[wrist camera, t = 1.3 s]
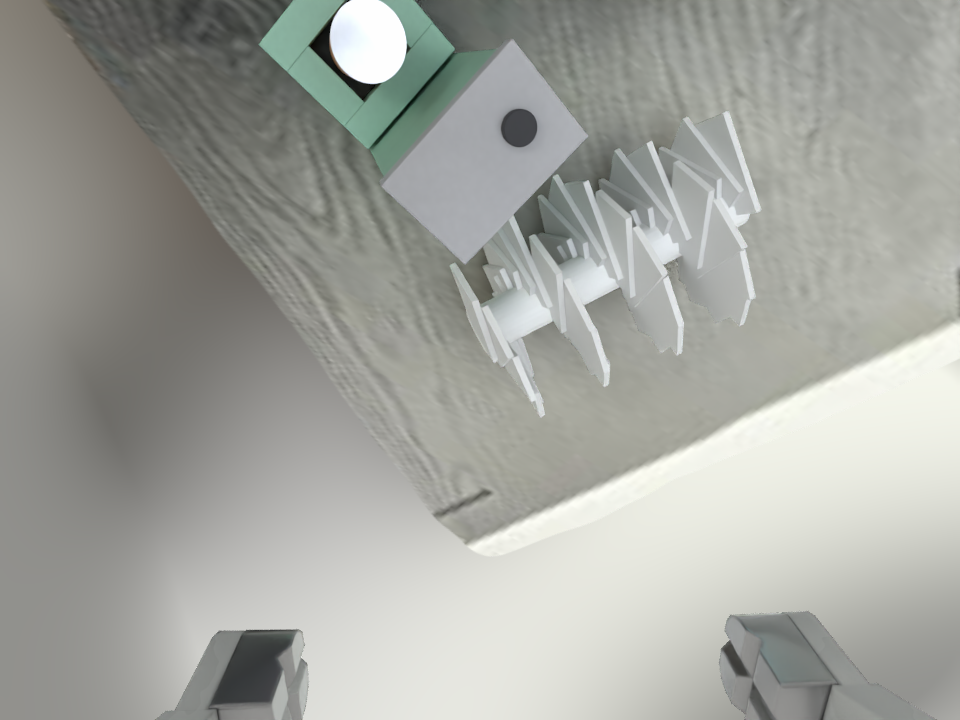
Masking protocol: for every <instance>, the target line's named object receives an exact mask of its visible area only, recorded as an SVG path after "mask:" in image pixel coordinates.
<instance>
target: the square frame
mask: <svg viewBox="0 0 960 720" xmlns="http://www.w3.org/2000/svg"><path fill="white" fill-rule="evenodd" d="M346 1H347V0H293V1H292V3H291V4H290V5H289V6H288V8H287V9H286V10H285V11H284V13H283V14H282V15H281V16H280V18H279V19H278V20H277V21H276V23H275V24H274V25H273V26H272V28H271V29H270V30H269V32H268V33H267V34H266V35H265V37H264V38H263V39H262V40H261V42H260V43H259V46H260V47H262V48H263V49H264V50H265V51H266V52H267V53H268V54H269V55H270V56H271V57H272V58H273V59H274V60H275V61H276V62H277V63H278V64H279V65H280V66H281V67H282V68H283V69H284V70H286V71H287V72H288V73H289V74H290V75H291V76H292V77H293V78H294V79H295V80H296V81H297V82H298V83H299V84H300V85H301V86H302V87H303V88H304V89H305V90H306V91H307V92H308V93H310V94H311V95H312V96H313V97H314V98H315V99H316V100H317V101H318V102H319V103H320V104H321V105H322V106H323V107H324V108H325V109H326V110H327V111H328V112H329V113H330V114H331V115H332V116H334V117H335V118H336V119H337V120H338V121H339V122H340V123H341V124H342V125H343V126H344V127H345V128H346V129H347V130H348V131H349V132H350V133H351V134H352V135H353V136H354V137H355V138H357V139H358V140H359V141H360V142H361V143H362V144H363V145H364V146H365V147H366V148H367V149H369V148H370V147H371V146H372V145H373V143H374V142H375V141H376V140H377V139H378V138H379V136H380V135H381V134H382V133H383V132H384V131H385V130H386V128H387V127H388V126H389V125H390V124H391V123H392V122H393V120H394V119H395V118H396V117H397V116H398V115H399V114H400V112H401V111H402V110H403V109H404V108H405V107H406V106H407V104H408V103H409V102H410V101H411V100H412V99H413V97H414V96H415V95H416V94H417V93H418V92H419V91H420V89H421V88H422V87H423V86H424V85H425V84H426V83H427V81H428V80H429V79H430V78H431V77H432V76H433V75H434V73H435V72H436V71H437V70H438V69H439V68H440V67H441V65H442V64H443V63H444V62H445V61H446V60H447V58H448V57H449V56H450V55H451V54H452V53H453V52H454V50H455V48H454V47H453V46H452V45H451V43H450V42H449V41H448V40H447V39H446V37H445V36H444V35H443V34H442V33H441V32H440V30H439V29H438V28H437V27H436V26H435V24H434V23H432V21H431V20H430V18H429V17H428V16H427V15H426V14H425V12H424V11H423V10H422V9H421V8H420V7H419V5H418V4H417V3H416V2H415V1H414V0H379V1H381V2H383V3H385V4H386V5H387V6H389V7H390V8H391V9H392V10H393V11H394V12H395V13H396V15H397V16H398V18H399V19H400V21H401V23H402V25H403V28H404V31H405V35H406V42H407V49H406V55H405V59H404V62H403V64H402V66H401V68H400V69H399V71H398V72H397V73H396V74H395V75H394V76H393V77H392V78H390V79H389V80H387V81H385V82H382V83H378V84H376V85H375V86H374V88H373V89H372V90H371V91H370V92H369V93H368V95H367V96H366V97H365V98H364V99H363V100H362V99H361V98H360V97H359V96H358V95H357V94H356V93H355V92H354V91H353V90H352V89H351V88H350V87H349V86H348V85H347V84H346V83H345V82H344V81H343V80H342V79H341V78H340V77H339V76H338V75H337V74H336V73H335V72H334V71H333V70H332V69H331V68H330V67H329V66H328V65H327V64H326V63H325V62H324V61H323V60H322V59H321V58H320V57H319V56H318V55H317V54H316V53H315V52H314V51H313V50H312V49H311V48H310V46H311V44H312V43H313V42H314V41H315V39H316V38H317V37H318V36H319V35H320V33H321V32H322V31H323V30H324V28H325V27H326V26H327V25H328V23H329V22H330V21H331V20H332V19H333V17H334V16H335V15H336V13H337V12H338V10H339V9H340V8H341V7H342V6H343V5H344V4H345V3H346Z"/></svg>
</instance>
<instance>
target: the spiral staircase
mask: <svg viewBox="0 0 960 720" xmlns="http://www.w3.org/2000/svg"><path fill="white" fill-rule="evenodd" d="M658 150H659V157H658V154H657V152H656V149H655V147H654V145H653V142H652V141H650V142H648V143H646V144H645V145H643V146H642V147H640V148H638V149H637V150H635V151H634V152H632V153H631V154H629V155H628V156H625V155H624V153H623V152H622V151H621V150H620V148H618V149H616V150H614V154H613V160H612V166H611V172H610V178H609V181H607V180H605V179H604V178H602V179H600V180H598V182H599V187H600V190H599V191H596V199H595V196H594V193H593V191H592V188H591V185H590V182H589V180H583V181H570V182H567V183H565V184H564V183H563V182H562V180H561V178H560V177H559V175H558V174H556V175H554V176H552V181H551V186H550V192H549V197H548V200H547V199H546V198H545V197H544V196H543V195H540V196H538V197H537V198H538V202H539V207H540V212H541V217H542V221H543V226H544V231H545V232H546V233H540V234H538V235H537V236H538V238H537V236H536V235H535V234H533V235H531V236H529V241H530V248H531V254H532V256H531V254H530V252H529V249H528V247H527V245H526V242H525V240H524V238H523V236H522V233H521V231H520V229H519V226H518V224H517V222H516V220H515V217H514V215H513V216H512V217H511V218H510V219H509V220H508V221H507V222H506V223H505V224H504V225H503V226H502V227H501V228H500V229H499V230H498V231H497V232H496V233H495V234H494V235H493V236H492V238H491V239H490V240H489V241H488V242H487V243H486V244H485V245H484V246H483V249H484V251H485V254H486V257H487V260H488V263H489V264H490V265H489V264H485V265H483V266H482V267H483V269H484V271H485V273H486V276H487V278H488V280H489V282H490V284H491V286H492V288H493V291H494V292H493V293H492V295H493V298H492V299H490V300H488V301H486V302H484V303H482V304H479V301H478V299H477V297H476V295H475V294H474V292H473V290H472V289H471V287H470V285H469V284H468V282H467V281H466V279H465V277H464V276H463V274H462V272H461V271H460V269H459V268H458V266H457V264H456V263H453V264H451V265H449V266H450V268H451V271H452V274H453V276H454V279H455V281H456V284H457V287H458V289H459V292H460V295H461V297H462V300H463V302H464V305H465V308H466V310H467V311H466V314H467V317H468V319H469V322H470V324H471V326H472V328H473V330H474V332H475V334H476V336H477V338H478V340H479V342H480V344H481V345H482V347H483V349H484V350H485V352H486V353H487V354H489V356H490V358H491V360H492V361H493V363H495V362H497V361H498V363H499V365H500V367H503V366H504V367H505V369H506V370H507V371H508V373H509V374H510V375H511V376H512V378H513V379H514V380H515V382H516V383H517V384H518V386H519V387H520V388H521V390H522V391H523V392H524V393H525V395H526V396H527V397H528V399H529V400H530V402H531V403H532V405H533V407H534V408H535V410H536V412H537V413H538V415H539V417H542V416H544V415H545V412H544V408H543V403H544V400H543V398H542V396H541V394H540V392H539V390H538V389H537V387H536V384H535V382H534V380H533V377H534V376H535V375H534V372H533V369H532V366H531V363H530V360H529V357H528V354H527V351H526V348H525V345H524V342H523V339H522V337H523V336H525V335H527V334H529V333H531V332H533V331H535V330H537V329H539V328H541V327H543V326H545V325H547V324H549V323H551V322H554V323H555V325H556V326H557V328H558V329H559V331H560V332H561V334H562V333H563V335H564V337H565V338H568V339H569V340H570V341H571V344H572V345H573V346H574V347H575V348H576V349H577V350H578V351H579V353H580V355H581V357H582V359H583V361H584V363H585V365H586V367H587V369H588V371H589V373H590V374H592V375H596V377H597V378H598V379H599V381H600V382H601V384H602V385H603V387H605V386H607V385H609V374H610V362H609V360H608V359H607V358H606V356H605V353H604V350H603V347H602V344H601V341H600V338H599V334H598V331H597V328H596V327H595V326H594V325H593V323H592V321H591V319H590V317H589V315H588V313H587V311H586V309H585V307H584V305H586V304H588V303H590V302H592V301H594V300H596V299H598V298H600V297H602V296H603V295H605V294H607V293H609V292H611V291H613V290H615V289H617V288H619V287H620V288H621V289H622V295H623V297H624V298H625V300H626V301H627V304H628V308H629V311H630V312H631V313H632V315H633V318H634V320H635V323H636V326H637V329H638V331H640V332H642V333H644V334H646V335H648V336H650V337H651V338H652V340H653V342H654V344H655V345H656V347H657V349H658V350H659V352H660V353H662V352H664V351H666V350H667V349H669V348H671V349H672V350H673V351H674V352H675V354H676V355H678V354H680V353H682V347H683V327H684V320H683V319H682V316H681V313H680V310H679V307H678V304H677V301H676V298H675V295H674V292H673V288H672V285H671V282H670V279H669V276H666V275H667V274H668V272H667V270H666V269H665V267H664V266H663V265H664V264H666V263H668V262H670V261H672V260H674V259H676V260H677V262H678V274H679V280H680V281H681V282H682V283H683V284H685V286H686V290H687V294H688V298H689V300H690V301H692V302H694V303H697V304H699V305H701V306H704V307H706V308H707V309H708V311H709V313H710V315H711V317H712V318H713V320H714V322H715V324H716V323H718V322H721V321H723V320H726V319H728V318H731V319H732V320H733V321H734V322H735V323H736V324H737V325H738V326H741V325H743V324H744V323H745V320H746V316H747V313H748V309H749V306H750V302H751V300H752V299H754V298H756V297H755V292H754V287H753V283H752V278H751V273H750V268H749V264H748V259H747V254H746V249H745V248H747V247H748V246H747V244H746V243H745V241H744V239H743V237H742V236H741V234H740V232H739V231H738V229H737V227H739V226H741V225H743V224H744V223H746V222H747V220H748V218H749V215H750V214H752V213H757V212H759V211H761V207H760V204H759V201H758V198H757V195H756V192H755V189H754V186H753V183H752V180H751V177H750V174H749V171H748V168H747V165H746V162H745V159H744V156H743V153H742V150H741V147H740V144H739V141H738V138H737V135H736V132H735V129H734V126H733V123H732V120H731V117H730V114H729V111H727V112H724V113H722V114H720V115H717V116H715V117H712V118H710V119H708V120H705V121H703V122H701V123H698V124H696V125H694V124H693V123H692V122H691V120H690V119H689V118H688V116H687V117H685V118H683V119H682V121H681V124H680V126H679V129H678V131H677V134H676V136H675V139H674V141H673V144H672V147H671V149H670V150H669V149H667V148H665V147H663V146H662V147H660V148H658ZM596 201H597V202H596Z"/></svg>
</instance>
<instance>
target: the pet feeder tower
mask: <svg viewBox="0 0 960 720" xmlns="http://www.w3.org/2000/svg"><path fill="white" fill-rule="evenodd" d="M587 137H588V135H587V133H586V132H585V131H584V129H583V128H582V127H581V126H580V124H579V123H578V122H577V120H576V119H575V118H574V117H573V115H572V114H571V113H570V111H569V110H568V109H567V108H566V106H565V105H564V104H563V102H562V101H561V100H560V98H559V97H558V96H557V95H556V93H555V92H554V91H553V89H552V88H551V87H550V86H549V84H548V83H547V82H546V80H545V79H544V78H543V77H542V75H541V74H540V73H539V71H538V70H537V69H536V68H535V66H534V65H533V64H532V62H531V61H530V60H529V59H528V57H527V56H526V55H525V53H524V52H523V51H522V50H521V48H520V47H519V46H518V44H517V43H516V42H515V41H514V39H506V40H505V41H504V42H503V43H502V44H501V45H500V46H499V47H498V48H497V49H491V50H482V51H472V52H462V53H452V54H451V55H450V56H449V57H448V58H447V60H446V61H445V62H444V63H443V64H442V65H441V67H440V68H439V69H438V70H437V71H436V72H435V73H434V75H433V76H432V77H431V78H430V79H429V80H428V81H427V83H426V84H425V85H424V86H423V87H422V88H421V89H420V91H419V92H418V93H417V94H416V95H415V96H414V97H413V99H412V100H411V101H410V102H409V103H408V104H407V106H406V107H405V108H404V109H403V110H402V111H401V112H400V114H399V115H398V116H397V117H396V118H395V119H394V120H393V122H392V123H391V124H390V125H389V126H388V127H387V128H386V130H385V131H384V132H383V133H382V134H381V135H380V136H379V138H378V139H377V140H376V141H375V142H374V143H373V145H372V146H371V147H370V148H369V149H370V151H371V153H372V155H373V157H374V159H375V161H376V163H377V165H378V167H379V169H380V171H381V173H382V174H383V176H384V177H383V178H382V179H381V180H380V182H379V183H380V185H381V187H382V188H383V189H384V190H385V191H386V192H387V193H388V194H389V195H391V196H392V197H393V198H394V199H395V200H396V201H397V202H398V203H399V204H400V205H401V206H402V207H403V208H404V209H406V210H407V211H408V212H409V213H410V214H411V215H412V216H413V217H414V218H415V219H416V220H417V221H418V222H420V223H421V224H422V225H423V226H424V227H425V228H426V229H427V230H428V231H429V232H430V233H431V234H432V235H434V236H435V237H436V238H437V239H438V240H439V241H440V242H441V243H442V244H443V245H444V246H445V247H446V248H447V249H449V250H450V251H451V252H452V253H453V254H454V255H455V256H456V257H457V258H458V259H459V260H460V261H461V262H463V263H464V264H467V263H468V262H469V261H470V259H471V258H472V257H473V256H474V255H475V254H476V253H477V252H478V251H479V250H480V249H481V248H482V247H483V246H484V245H485V244H486V243H487V242H488V241H489V240H490V239H491V238H492V236H493V235H494V234H495V233H496V232H497V231H498V230H499V229H500V228H501V227H502V226H503V225H504V224H505V223H506V222H507V221H508V220H509V219H510V218H511V217H512V216H513V215H514V214H515V212H516V211H517V210H518V209H519V208H520V207H521V206H522V205H523V204H524V203H525V202H526V201H527V200H528V199H529V198H530V197H531V196H532V195H533V194H534V193H535V192H536V191H537V190H538V188H539V187H540V186H541V185H542V184H543V183H544V182H545V181H546V180H547V179H548V178H549V177H550V176H551V175H552V174H553V173H554V172H555V171H556V170H557V169H558V168H559V167H560V165H561V164H562V163H563V162H564V161H565V160H566V159H567V158H568V157H569V156H570V155H571V154H572V153H573V152H574V151H575V150H576V149H577V148H578V147H579V146H580V145H581V144H582V143H583V141H584V140H585V139H586V138H587Z"/></svg>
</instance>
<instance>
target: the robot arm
mask: <svg viewBox="0 0 960 720" xmlns="http://www.w3.org/2000/svg"><path fill="white" fill-rule="evenodd" d="M725 632H726V634H727V636H728V638H729V639H730V640H729V641H728V642H727V643H726V645H724V646H723V647H722V648H721V653H720V661H719V665H720V673H721V679H722V682H723V685H724V688H725V691H726V693H727V695H728V697H729V699H730V701H731V703H732V704H733V705H734V706H735V707H737V708H738V709H739V710H741V711H742V712H743V713H744V714H746V716H745V720H936V719H935V718H933V717H932V716H930V715H928V714H927V713H925V712H924V711H922V710H920V709H919V708H917V707H915V706H914V705H912V704H910V703H909V702H907V701H906V700H904V699H902V698H901V697H899V696H897V695H896V694H894V693H892V692H891V691H889V690H888V689H886V688H884V687H882V686H881V685H879V684H870V683H869V682H868V681H867V680H866V679H865V677H864V676H863V675H862V673H861V672H860V671H859V670H858V668H857V667H856V666H855V665H854V664H853V662H852V661H851V660H850V659H849V657H848V656H847V655H846V654H845V652H844V651H843V650H842V649H841V648H840V646H839V645H838V644H837V642H836V641H835V640H834V639H833V637H832V636H831V635H830V634H829V632H828V631H827V630H826V629H825V628H824V626H823V625H822V624H821V623H820V621H819V620H818V619H817V618H816V617H815V615H813V614H812V613H810V612H808V611H805V612H804V611H803V612H782V613H759V614H737V615H730V616H729V618H728V619H727V621H726V626H725ZM304 646H305V644H304V638H303V633H302V631H301V630H246V631H219V632H217V633H216V635H214V636H213V637H212V639H211V641H210V643H209V645H208V647H207V649H206V650H205V652H204V654H203V657H202V658H201V660H200V662H199V664H198V666H197V668H196V670H195V672H194V674H193V676H192V678H191V680H190V682H189V683H188V685H187V687H186V689H185V691H184V693H183V695H182V697H181V699H180V701H179V703H178V705H177V707H176V709H175V711H165V712H164V713H163V714H162V715H161V716H159V717H158V718H157V719H155V720H302V719H303V714H304V711H305V707H306V702H307V694H308V667H307V663H306V662H305V661H304V660H303V659H302V658H301V656H302V652H303V648H304Z"/></svg>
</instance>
